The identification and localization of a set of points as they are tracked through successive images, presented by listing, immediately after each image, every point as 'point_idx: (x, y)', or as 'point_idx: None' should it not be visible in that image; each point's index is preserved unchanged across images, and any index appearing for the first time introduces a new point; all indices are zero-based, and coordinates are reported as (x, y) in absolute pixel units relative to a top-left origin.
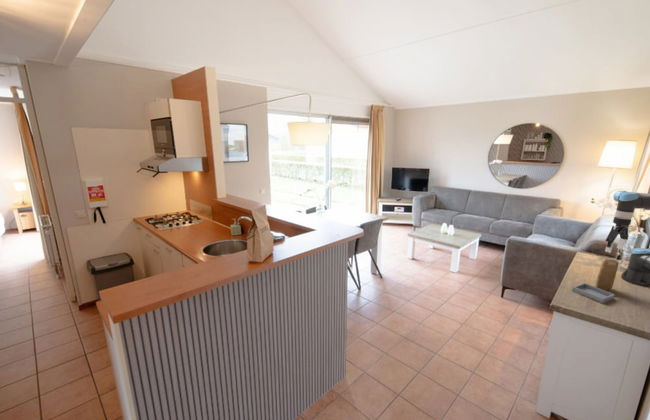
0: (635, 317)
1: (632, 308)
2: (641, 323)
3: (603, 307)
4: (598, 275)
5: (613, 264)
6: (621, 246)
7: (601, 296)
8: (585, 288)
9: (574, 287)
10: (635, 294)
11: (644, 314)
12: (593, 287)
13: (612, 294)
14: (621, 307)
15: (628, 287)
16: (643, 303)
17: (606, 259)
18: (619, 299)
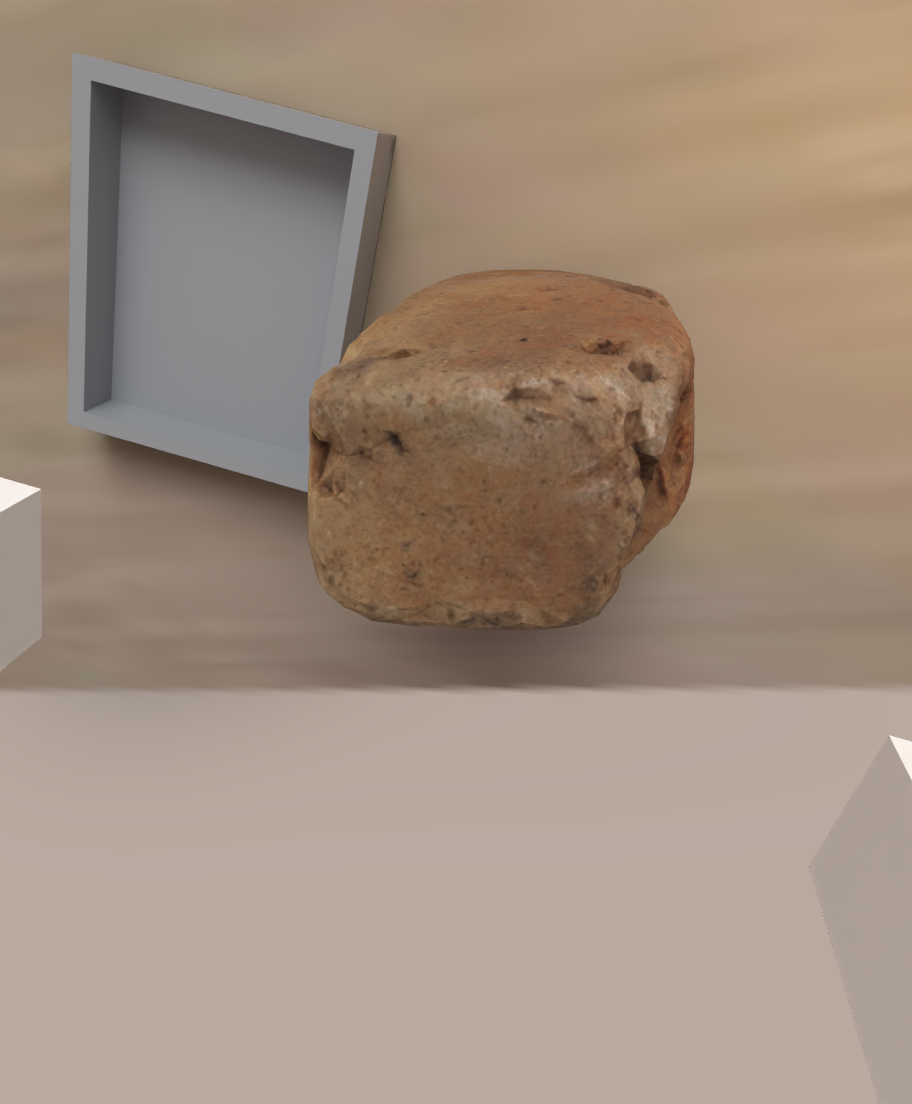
0: (102, 642)
1: (267, 618)
2: (39, 676)
3: (31, 431)
4: (408, 299)
5: (317, 566)
6: (856, 937)
7: (255, 376)
8: (328, 179)
9: (72, 77)
10: (686, 624)
11: (232, 690)
12: (337, 269)
13: (296, 477)
14: (195, 549)
15: (881, 559)
16: (485, 683)
17: (532, 416)
18: None
